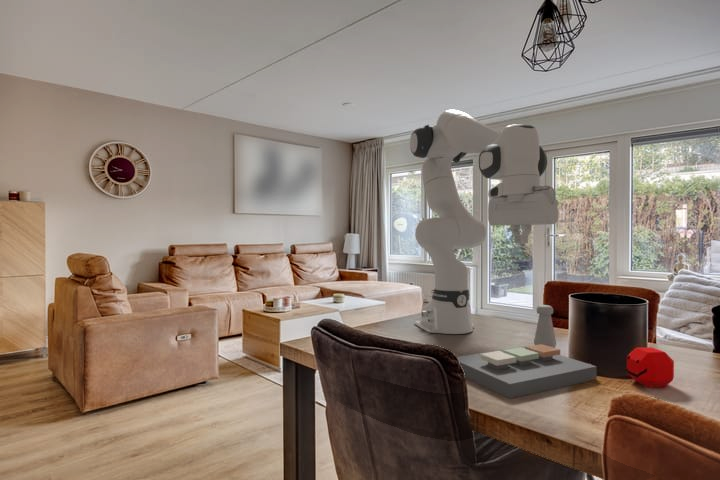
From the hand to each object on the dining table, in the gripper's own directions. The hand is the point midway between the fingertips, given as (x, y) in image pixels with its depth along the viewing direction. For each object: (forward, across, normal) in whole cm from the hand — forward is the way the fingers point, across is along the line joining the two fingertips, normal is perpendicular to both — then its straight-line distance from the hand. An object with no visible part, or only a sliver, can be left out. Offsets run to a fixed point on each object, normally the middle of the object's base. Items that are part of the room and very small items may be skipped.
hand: (520, 243), depth 108 cm
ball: (+31, -22, -16) cm, 41 cm away
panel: (+31, -5, +5) cm, 32 cm away
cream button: (+30, -5, +12) cm, 32 cm away
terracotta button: (+30, -5, -2) cm, 30 cm away
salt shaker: (+31, +7, -16) cm, 36 cm away
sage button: (+30, -5, +5) cm, 31 cm away
